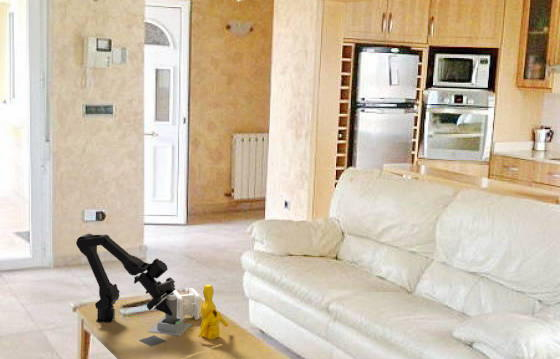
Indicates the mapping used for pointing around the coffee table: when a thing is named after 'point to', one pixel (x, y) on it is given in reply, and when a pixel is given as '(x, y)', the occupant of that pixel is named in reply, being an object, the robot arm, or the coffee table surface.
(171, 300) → the grey cylindrical piece
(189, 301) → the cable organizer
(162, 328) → the port
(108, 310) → the robot arm
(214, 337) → the figure statuette
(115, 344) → the coffee table surface
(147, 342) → the pad
